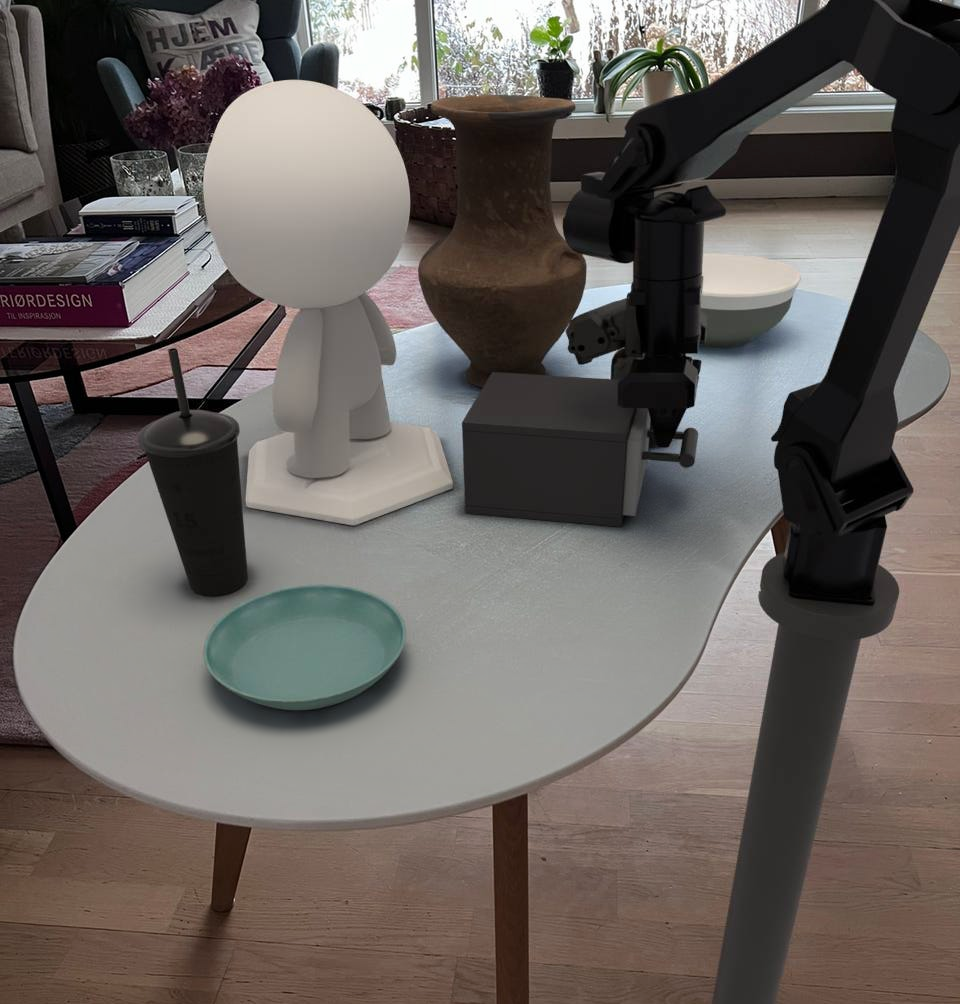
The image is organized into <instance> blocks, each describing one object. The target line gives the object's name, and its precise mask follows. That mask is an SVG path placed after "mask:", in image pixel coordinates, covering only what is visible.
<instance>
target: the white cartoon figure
mask: <svg viewBox="0 0 960 1004" xmlns="http://www.w3.org/2000/svg"><path fill="white" fill-rule="evenodd" d="M404 162H405V161H404V159H403V157H402V154H401V152H400V150H399V148H398V146H397V144H396V141H395V140H394V138H393V137H392V135H391V133H390V132H389V131H388V129H387V128H386V126H385V125H384V124H383V123H382V121H381V120H380V119H379V118H378V117H377V115H375V113H374V112H372V111H371V110H370V109H369V108H368V107H367V106H366V105H364V104H363V103H362V102H361V101H359V100H358V99H356V98H355V97H354V96H351V95H350V94H349V93H347V92H344V91H343V90H341V89H338V88H336V87H333V86H331V85H327V84H325V83H320V82H317V81H313V80H312V81H311V80H305V79H304V80H303V79H285V80H277V81H272V82H268V83H264V84H261V85H259V86H255V87H254V88H251V89H249V90H247V91H246V92H244V93H242V94H241V95H239V96H238V97H237V98H236V99H235V100H234V101H232V102H231V104H229V105H228V106H227V108H226V109H225V111H224V112H223V113H222V115H221V117H220V119H219V121H218V123H217V126H216V128H215V130H214V133H213V135H212V140H211V143H210V145H209V148H208V150H207V154H206V159H205V163H204V170H203V181H202V182H203V183H202V185H203V186H202V189H203V191H202V192H203V204H204V210H205V211H204V212H205V216H206V220H207V224H208V227H209V230H210V233H211V236H212V239H213V241H214V243H215V246H216V249H217V251H218V253H219V256H220V258H221V260H222V263H224V265H225V267H226V269H227V270H228V271H229V273H230V275H231V276H232V277H233V278H234V279H235V280H236V282H238V283H239V284H240V285H241V286H242V287H243V288H245V289H246V290H247V291H249V292H250V293H251V294H253V295H255V296H257V297H259V298H261V299H263V300H265V301H267V302H270V303H272V304H275V305H279V306H282V307H285V308H286V307H287V308H291V309H298V310H299V311H298V312H297V313H296V314H295V316H294V317H293V319H292V321H291V322H290V324H289V327H288V329H287V332H286V334H285V337H284V340H283V343H282V346H281V350H280V353H279V357H278V361H277V365H276V370H275V374H274V379H273V386H272V395H271V396H272V397H271V398H272V402H271V403H272V415H273V420H274V422H275V425H276V427H278V429H279V430H281V431H284V432H283V433H280V434H277V435H274V436H271V437H268V438H265V439H262V440H258V441H255V443H254V445H252V447H251V449H250V450H249V452H248V461H247V475H246V476H247V477H246V489H245V490H246V491H245V506H246V508H250V509H254V510H261V511H267V512H273V513H278V514H284V515H289V516H290V515H291V516H295V517H301V518H306V519H314V520H318V521H325V522H330V523H337V524H343V525H348V526H358V525H360V524H362V523H365V522H368V521H371V520H373V519H376V518H379V517H381V516H384V515H387V514H390V513H393V512H394V511H397V510H400V509H402V508H405V507H407V506H410V505H413V504H416V503H418V502H421V501H424V500H426V499H429V498H431V497H434V496H437V495H440V494H442V493H444V492H448V491H450V490H452V489H453V488H454V482H453V478H452V475H451V472H450V468H449V465H448V463H447V462H448V461H447V459H446V455H445V452H444V449H443V448H444V447H443V445H442V442H441V438H440V436H439V434H437V432H435V430H434V429H432V428H431V427H429V426H422V425H416V424H411V423H410V424H409V423H403V422H394V421H391V419H390V413H389V407H388V402H387V396H386V391H385V386H384V380H383V372H382V371H383V370H382V366H394V365H395V363H396V359H397V348H396V342H395V338H394V335H393V332H392V330H391V327H390V326H389V323H388V321H387V320H386V317H385V316H384V314H383V312H382V311H381V310H380V308H379V307H378V305H377V304H376V302H375V301H374V300H373V298H371V297H370V295H368V294H367V293H366V292H367V291H370V289H371V288H372V287H374V286H375V285H376V284H378V282H379V281H380V280H381V279H382V278H383V277H384V276H385V275H386V274H387V272H388V271H389V270H390V269H391V267H392V266H393V264H394V262H395V261H396V259H397V257H398V255H399V254H400V251H401V250H402V247H403V244H404V241H405V239H406V236H407V231H408V229H409V227H408V226H409V221H410V215H411V214H410V213H411V191H410V190H411V189H410V183H409V177H408V173H407V169H406V166H405V163H404Z"/></svg>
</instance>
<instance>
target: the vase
mask: <svg viewBox="0 0 960 1004" xmlns="http://www.w3.org/2000/svg"><path fill="white" fill-rule="evenodd" d="M430 109H431V110H430V111H431V113H432V114H433V115H436V116H438V117H441V118H444V119H445V120H447V121H449V122H450V123H451V125H452V126H453V129H454V131H455V142H456V143H455V144H456V147H455V149H456V151H455V153H456V178H457V210H456V211H457V212H456V218H455V221H454V224H453V227H452V230H451V231H450V233H449V234H448V235H447V236H443V237H441V238H440V239H438V240H437V241H436V242H434V243H433V244H432V245H431V246H430V247H429V248H428V249H427V250H426V251H425V253H424V254H423V255H422V257H421V259H420V261H419V263H418V268H417V277H418V282H419V283H418V284H419V285H420V290H421V292H422V295H423V298H424V301H425V304H426V305H427V307H428V309H429V311H430V313H431V315H432V316H433V317H434V319H435V320H436V321H437V323H438V325H439V326H440V328H441V329H442V330H443V331H444V333H445V334H446V335H448V337H449V338H450V339H451V341H453V342H454V343H455V345H456V346H457V347H458V348H459V349H460V350H461V351H462V352H463V354H464V355H465V356H466V357H467V359H468V360H469V362H470V363H469V366H468V368H467V369H466V370H465V372H464V379H465V380H466V381H467V382H468V383H470V384H471V385H473V386H475V387H479V388H483V387H484V385H485V383H486V382H487V380H488V378H489V377H490V375H491V373H492V372H499V373H516V374H532V375H547V370H546V369H547V368H546V366H545V365H544V363H543V361H544V359H545V358H546V355H547V354H549V352H550V351H551V350H552V348H553V347H554V346H555V344H556V343H558V341H559V340H560V339H561V337H562V335H563V334H564V333H565V331H566V329H567V327H568V325H569V323H570V321H571V320H572V319H573V318H574V317H575V314H576V312H577V311H578V309H579V307H580V304H581V301H582V299H583V295H584V292H585V288H586V284H587V271H588V270H587V267H588V266H587V260H586V259H585V257H584V255H583V254H579V253H577V252H574V251H573V250H572V249H571V248H570V247H569V246H568V244H567V242H566V240H565V237H564V236H562V234H561V233H560V232H559V229H558V227H557V225H556V223H555V218H554V212H553V205H552V204H553V202H552V194H551V193H552V191H551V175H552V174H551V173H552V145H553V133H554V128H555V127H554V126H555V124H556V122H557V120H559V119H560V118H561V117H564V116H567V115H569V114H571V113H573V112H575V111H576V103H575V102H573V100H570V99H564V98H559V97H558V98H556V97H545V96H544V97H543V96H534V95H515V94H494V93H493V94H491V93H490V94H489V93H485V94H481V95H474V94H468V95H465V96H446V97H442V98H439V99H436V100H434V101H433V102H431V104H430Z"/></svg>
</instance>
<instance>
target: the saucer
mask: <svg viewBox="0 0 960 1004" xmlns="http://www.w3.org/2000/svg"><path fill="white" fill-rule="evenodd" d="M406 640H407V628H406V624H405V620H404V619H403V617H402V616H401V613H399V611H398V610H397V609H396V608H395V607H394V606H393V605H392V604H391V603H390V602H388V601H387V600H386V599H385V598H382V597H380V596H378V595H376V594H374V593H372V592H369V591H366V590H363V589H359V588H356V587H351V586H343V585H339V584H306V585H297V586H296V585H295V586H290V587H285V588H281V589H276V590H273V591H272V590H271V591H270V592H267V593H263V594H261V595H258V596H255V597H252V598H251V599H248V600H246V601H244V602H243V603H241V604H240V603H239V604H238V605H237V606H235V607H233V608H232V609H230V610H229V611H228V612H227V613H225V614H224V615H223V616H222V617H220V619H219V620H217V622H216V623H215V624H214V625H213V626H212V627H211V629H210V630H209V632H208V634H207V635H206V638H205V640H204V643H203V649H202V654H203V655H202V656H203V661H204V663H205V666H206V669H207V671H208V672H209V673H210V675H211V676H212V678H214V680H215V681H217V682H218V683H219V684H220V685H222V686H223V687H225V688H226V689H227V690H228V691H230V692H232V693H234V694H235V695H237V696H238V697H241V698H243V699H245V700H247V701H249V702H252V703H255V704H258V705H262V706H265V707H269V708H273V709H278V710H285V711H308V710H309V711H310V710H317V709H323V708H327V707H332V706H334V705H336V704H337V705H338V704H340V703H343V702H346V701H348V700H350V699H352V698H354V697H356V696H358V695H359V694H361V693H363V692H364V691H366V690H367V689H369V688H370V687H372V686H373V685H375V684H376V683H377V682H379V680H380V679H381V678H382V677H384V675H386V673H387V672H389V670H390V669H391V668H392V667H393V666H394V664H395V663H396V662H397V660H398V658H399V657H400V655H401V654H402V652H403V649H404V647H405V644H406Z"/></svg>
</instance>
